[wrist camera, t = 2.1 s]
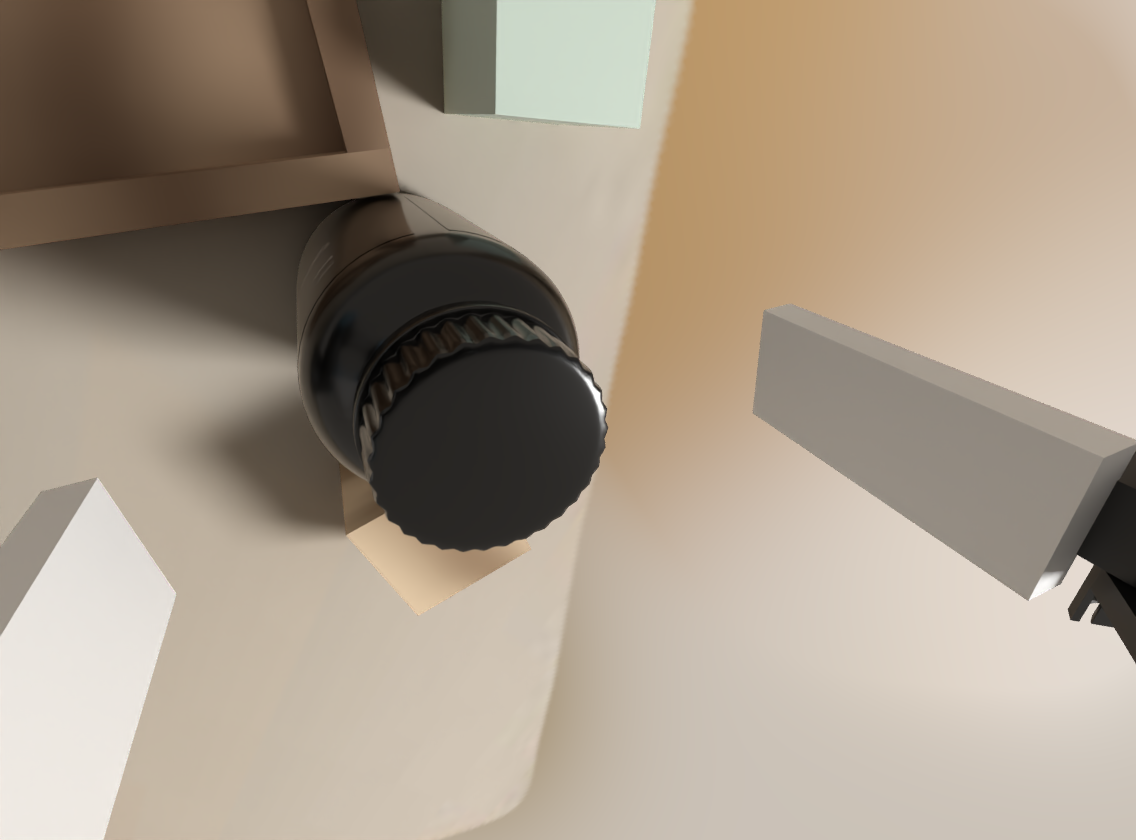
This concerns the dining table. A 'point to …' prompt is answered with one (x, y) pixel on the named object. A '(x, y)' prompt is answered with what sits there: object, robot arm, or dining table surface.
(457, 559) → the oak block
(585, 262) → the dining table surface
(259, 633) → the dining table surface
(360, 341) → the supplement bottle
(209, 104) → the walnut tray
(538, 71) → the sage cube
